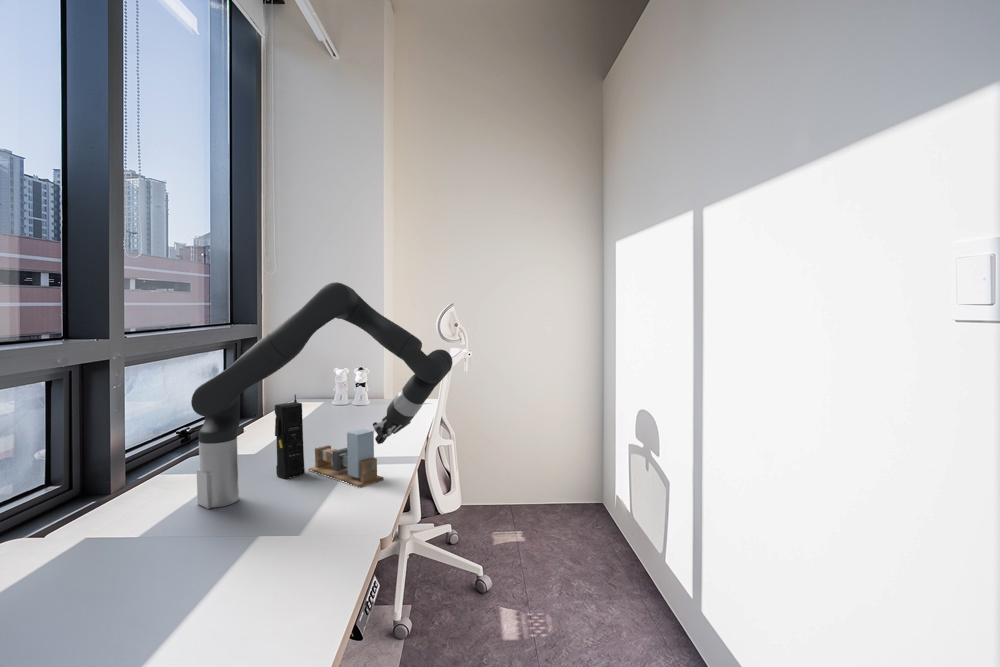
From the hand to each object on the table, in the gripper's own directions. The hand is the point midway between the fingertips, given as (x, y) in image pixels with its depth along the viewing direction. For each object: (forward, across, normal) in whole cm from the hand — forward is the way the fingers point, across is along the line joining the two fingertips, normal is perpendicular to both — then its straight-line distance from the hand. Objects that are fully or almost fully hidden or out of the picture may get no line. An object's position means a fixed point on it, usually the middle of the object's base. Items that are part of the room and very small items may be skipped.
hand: (378, 441), depth 159 cm
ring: (+21, 0, -5) cm, 21 cm away
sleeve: (+14, 0, +2) cm, 15 cm away
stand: (+22, 0, -2) cm, 22 cm away
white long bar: (+19, 0, -5) cm, 20 cm away
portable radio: (+31, +11, -12) cm, 35 cm away
